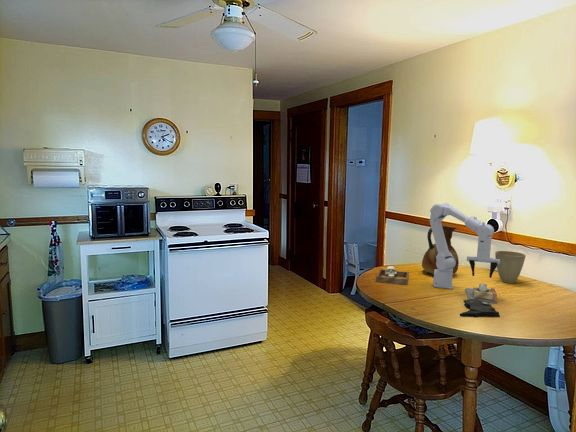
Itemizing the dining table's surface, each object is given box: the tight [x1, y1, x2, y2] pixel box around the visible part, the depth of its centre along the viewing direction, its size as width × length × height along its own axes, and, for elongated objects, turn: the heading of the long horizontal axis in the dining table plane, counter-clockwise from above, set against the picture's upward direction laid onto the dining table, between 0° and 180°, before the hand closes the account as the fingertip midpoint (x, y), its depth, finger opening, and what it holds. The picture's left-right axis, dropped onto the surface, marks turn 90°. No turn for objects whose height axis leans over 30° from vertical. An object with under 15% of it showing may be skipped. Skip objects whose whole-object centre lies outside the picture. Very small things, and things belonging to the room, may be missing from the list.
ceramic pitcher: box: [421, 223, 460, 275], centre depth 236 cm, size 20×20×30 cm
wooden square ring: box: [472, 286, 493, 300], centre depth 193 cm, size 8×8×3 cm
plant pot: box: [494, 250, 527, 284], centre depth 223 cm, size 15×15×16 cm
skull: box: [384, 265, 398, 278], centre depth 223 cm, size 12×10×10 cm
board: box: [464, 287, 498, 304], centre depth 197 cm, size 12×18×4 cm, turn 161°
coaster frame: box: [375, 268, 410, 286], centre depth 224 cm, size 16×16×3 cm
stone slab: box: [459, 299, 501, 318], centre depth 179 cm, size 22×16×5 cm
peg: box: [478, 283, 488, 292], centre depth 193 cm, size 3×3×6 cm
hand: (481, 276), depth 197 cm, fingers open, 7 cm apart
